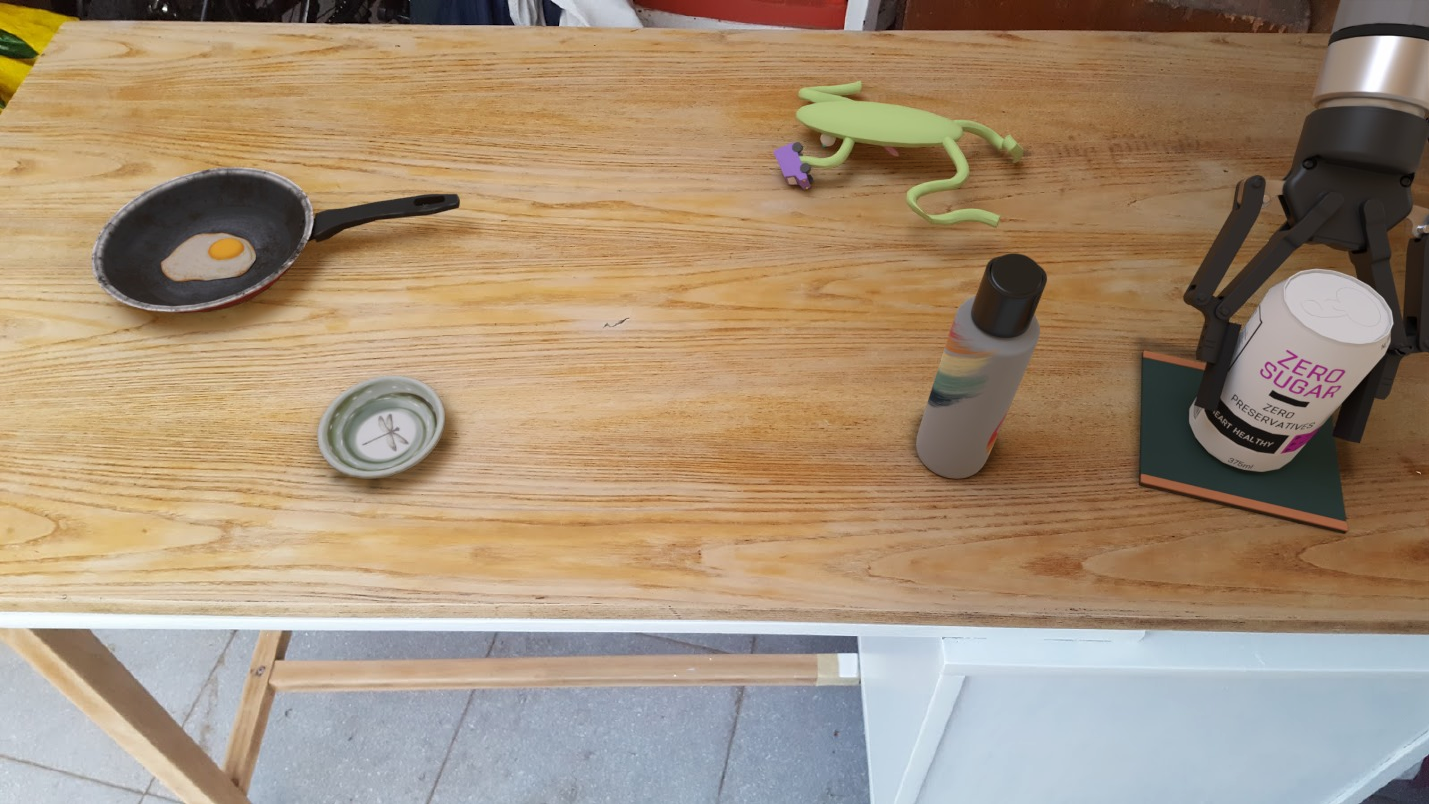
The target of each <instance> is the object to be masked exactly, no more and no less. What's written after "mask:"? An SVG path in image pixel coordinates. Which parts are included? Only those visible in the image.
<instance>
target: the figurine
mask: <svg viewBox="0 0 1429 804" xmlns="http://www.w3.org/2000/svg"><path fill="white" fill-rule="evenodd" d="M861 91H862V80H861V79H860V80H858V81H855V82H850V83H844V84H836V85H817V86H804V87H802V88H800V89H799V91H798V93H797V96H798V98H799V99H800V100H802V101H806V102H811V104H807V105H802V106H801V107H800V108H799V109H798V110H796V111H795V119H796V121H798V122H800V124H802V125H804V126H805V127H807V128H808V129H810V130H813V131H815V132H818V133H821V135H820V138H819V139H820V143H821V146H822V147H823V148H827V147H832V146H833V145H834V144H835V142H836V140H837V139H839V140H842V143H841V146H840V147H839V149H838V151H837V152H835V154H832V155H831V156H828V157H823V158H822V157H815V156H810V155H809V156H808V155H804V153H802V152H803V150H804V146H803V144H802V143H801V142H800V141H795V142H790V143H788V144H786V145H784V146H781V147H779V148H776V149H774V150H773V155H774V156H775V159H776V161H777V163H778V166H779V168H780V170H781V172H782V175H783V177H784V179H785V182H786V183H787V185H788V186H795V185H797V186H800V188H802V190H804V191H806V190H809V189H811V188H812V186H811V185H812V184H813V183H814V177H813V176H812V175H811V174H810V173H811V171H812V168H817V169H818V168H820V169H827V170H828V169H833V168H837V167H839V166H841V165H842V164H843V163H845V161H846V160H847V159H848V158H849V156H850V154H851V153H852V151H853V148H854V145H855V143H859V144H860V143H861V144H866V145H867V144H868V145H872V146H873V145H875V146H879V147H883V148H884V149H885V150H886V151H887V152H888V153H889V154H891V155H893V156H895V157H899V152H898V151H897V150H896V149H894V147H895V148H924V147H925V148H926V147H927V148H929V147H940V146H941V147H942V148H943V149H944V151H945V152H946V154H948V156H949V157H950V159H951V161H952V162H953V165H954V166H955V169H956V173H955V175H954V176H952V177H951V178H948V179H938V180H931V181H927V182H926V181H925V182H922V183H920V184H917V185H915V186H912V187H911V188H910V189H909V190H907V191H906V195H905V203H906V204H907V206H908V207H909V208H910V209H911V210H912V211H913V212H914V213H915V214H917V215H918V216H919V217H921V218H923V219H924V220H926V221H927V222H929V223H930V224H931V225H936V226H954V225H957V224H960V223H968V222H971V223H980V224H983V225H986V226H989V227H992V228H995V229H997V228H998V226H999V223H1000V221H1001V218H1002V217H1001V215H1000V214H996V213H995V212H991V211H988V210H984V209H981V208H963V209H956V210H953V211H950V212H946V213H941V214H937V215H936V214H928V213H926V212H924V210H922V209H921V208H920V207H919V205H918V202H917V201H918V200H919V199H920V198H921V197H924V196H926V195H930V194H935V193H940V192H948V191H952V190H956V189H959V188H961V186H963V185H964V184H965V183H966V182H967V180H968V179H969V177H970V175H971V173H970V172H971V171H970V165H969V163H968V160H967V158H966V156H965V155H964V153H963V151H962V150H961V148H960V147H959V144H958V143H957V142H958V141H959V140H961V139H962V138H963V137H964V136H965V133H968V134H971V135H972V134H973V135H976V136H978V137H980V138H982V139H984V140H985V141H986V142H988V143H989V144H990V145H991V146H992V147H994V148H995V149H997V150H998V151H1007V152H1008V154H1010V155H1011V156H1012V157H1013V160H1012V164H1016V163H1017V162H1019V161H1020V160H1021V159H1022V158H1023V156H1024V150H1025V149H1024V148H1023V147H1022V146H1021V144H1019V143H1018V142H1017V141H1016V139H1014V138H1013V136H1012V135H1011V134H1007V135H1006V136H1005V137H1002V136H1001V135H1000V134H998V133H997V132H996V131H995V130H993V129H992V128H990V127H989V126H987V125H984V124H982V123H979V122H976V121H974V120H968V119H950V118H948V117H945V116H942V115H939V114H937V113H933V112H931V111H928V110H923V109H919V108H914V107H909V106H905V105H902V104H892V103H885V102H878V101H865V100H864V101H863V100H853V99H851V98H848V97H846V96H849V95H850V96H851V95H855V94H857V93H860V92H861Z"/></svg>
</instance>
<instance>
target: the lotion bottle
mask: <svg viewBox="0 0 1429 804" xmlns="http://www.w3.org/2000/svg"><path fill="white" fill-rule="evenodd" d="M1047 282H1048V276H1047V272H1046V271H1045V269H1044V268H1043V267H1042V266H1040V265H1039V264H1038V263H1037V262H1036V261H1035V260H1034V259H1032V258H1031V257H1030V256H1027V255H1025V254H1022V253H1017V252H1016V253H1014V252H1013V253H1005V254H1003V255H1000V256H996V257H993V258H991V259H990V260H989V261H988V262H987V264H986V266H985V269H984V272H983V274H982V278H981V280H980V283H979V285H978V288H977V291H976V294H975V295H974V296H971V297H969V298H967V299H966V300H964V302H962V303H961V304H960V305H959V307H958V308H957V310H956V312H955V315H954V317H953V320H952V324H951V327H950V329H949V333H948V335H947V338H946V343H945V345H944V349H943V352H942V355H941V359H940V361H939V364H938V367H937V371H936V374H935V377H934V380H933V383H932V387H931V390H930V393H929V396H928V399H927V403H926V406H925V408H924V412H923V415H922V418H921V422H920V425H919V428H918V430H917V436H916V441H915V449H916V453H917V456H918V457H919V460H920V462H921V463H922V464H923V465H924V466H925V467H926V468H927V469H928V470H930V471H931V472H932V473H934V474H936V475H939V476H940V477H943V478H948V479H953V480H954V479H956V480H957V479H965V478H969V477H972V476H974V475H975V474H977V473H978V472H980V470H982V469H983V467H984V466H985V464H986V462H987V460H988V458H989V456H990V454H991V453H992V452H991V451H992V450H993V447H994V445H995V443H996V440H997V438H998V436H999V433H1000V431H1001V429H1002V427H1003V424H1004V422H1005V420H1006V417H1007V415H1008V413H1009V411H1010V408H1011V406H1012V403H1013V401H1014V398H1015V396H1016V394H1017V392H1018V390H1019V387H1020V385H1021V382H1022V380H1023V379H1024V376H1025V373H1026V371H1027V368H1028V366H1029V364H1030V361H1031V359H1032V357H1033V355H1034V352H1035V350H1036V347H1037V345H1038V342H1039V341H1040V340H1039V339H1040V336H1041V326H1040V322H1039V320H1038V318H1037V316H1036V314H1035V313H1036V311H1037V308H1038V306H1039V303H1040V301H1041V298H1042V296H1043V293H1044V290H1045V289H1046V285H1047Z"/></svg>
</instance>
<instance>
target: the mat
mask: <svg viewBox="0 0 1429 804" xmlns="http://www.w3.org/2000/svg"><path fill="white" fill-rule="evenodd" d="M1206 363H1207V362H1202V361H1197V360H1192V359H1187V358H1182V357H1178V356H1172V355H1168V354H1163V353H1159V352H1154V351H1149V350H1143V351H1142V352H1141V370H1140V371H1141V373H1140V375H1141V378H1140V385H1141V386H1140V420H1139V421H1140V422H1139V423H1140V424H1139V426H1140V427H1139V467H1138V468H1139V470H1138V471H1139V472H1138V473H1139V474H1138V485H1139V486H1142V487H1146V488H1150V489H1154V490H1159V491H1164V492H1168V493H1172V494H1176V495H1180V496H1185V497H1187V498H1188V497H1189V498H1192V499H1196V500H1200V501H1204V502H1210V503H1214V504H1219V505H1222V506H1227V507H1230V508H1234V509H1240V510H1243V511H1248V512H1252V513H1255V514H1259V515H1260V514H1261V515H1265V516H1268V517H1274V518H1278V519H1282V520H1286V521H1290V522H1294V523H1298V524H1303V525H1306V526H1311V527H1314V528H1315V527H1316V528H1320V529H1324V530H1328V531H1332V532H1337V533H1340V534H1346V533H1347V532H1348V531H1349V528H1348V521H1347V517H1346V511H1345V502H1344V495H1343V487H1342V481H1341V473H1340V464H1339V457H1338V449H1337V442H1336V437H1334V436H1332V434H1333V431H1334V428H1335V426H1334V420H1333V414H1332V415H1331V416H1330V417H1329V418H1328V419H1327V420H1326V422H1325V423H1324V424H1323V425H1322V426H1321V427H1320V428H1319V430H1318V431H1317V432H1316V433H1315V434H1314V435H1313V436H1312V437H1311V439H1310V440H1309V441H1308V442H1307V443H1306V444H1305V445H1304V447H1303V448H1302V449H1301V450H1300V451H1299V452H1298V453H1297V454H1296V456H1295V457H1294V458H1293V459H1292V460H1291V461H1290V462H1288V463H1287V464H1285V465H1284V466H1282V467H1281V468H1279V469H1275V470H1270V471H1264V472H1259V471H1251V470H1243V469H1239V468H1236V467H1234V466H1231V465H1229V464H1226V463H1223V462H1222V461H1220V460H1219V459H1217V458H1216V457H1214V456H1213V455H1211V454H1210V453H1209V452H1208V451H1207V450H1206V449H1205V448H1204V447H1203V446H1202V444H1201V443H1200V442H1199V441H1198V439H1197V438H1196V437H1195V435H1194V433H1193V430H1192V428H1191V426H1190V423H1189V409H1190V407H1191V405H1192V404H1193V402H1194V400H1195V399H1196V397H1197V394H1198V391H1199V387H1200V384H1201V380H1202V377H1203V374H1204V370H1205V367H1206Z"/></svg>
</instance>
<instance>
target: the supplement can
mask: <svg viewBox="0 0 1429 804" xmlns="http://www.w3.org/2000/svg"><path fill="white" fill-rule="evenodd" d="M1392 326H1393V317H1392V311H1391V309H1390V308H1389V306H1388V305H1387V303H1386V301H1385V300H1384V298H1383V297H1382V296H1380V295H1379V294H1378V293H1377V292H1376V291H1375V290H1374V289H1373V288H1371V287H1370V286H1369V285H1367V284H1365V283H1363V282H1361V281H1360V280H1358V279H1357V277H1354V276H1352V275H1349V274H1346V273H1343V272H1340V271H1337V270H1331V269H1323V268H1322V269H1321V268H1313V269H1312V268H1311V269H1306V270H1305V269H1304V270H1299V271H1298V272H1296V273H1295V274H1293V275H1291V276H1289V277H1288V278H1287V279H1284V280H1282V281H1280V282H1279V283H1276V284H1275V285H1273V286H1272V287H1270V288H1269V290H1268V291H1267V292H1266V294H1265V295H1264V296H1263V298H1262V299H1261V301H1260V302H1259V304H1258V305H1257V307H1256V308H1255V310H1254V312H1253V313H1252V314H1251V316H1250V318H1248V320H1247V322H1246V324H1245V325H1244V326H1243V327H1242V328H1241V330H1240V333H1239V336H1238V340H1237V343H1236V346H1235V350H1234V353H1233V357H1232V360H1231V363H1230V367H1229V370H1228V374H1227V377H1226V380H1225V384H1224V387H1223V390H1222V394H1221V397H1220V401H1219V404H1218V407H1217V411H1216V412H1215V411H1211V410H1206V409H1203V408H1200V407H1198V406H1195V405H1194V404H1195V401H1196V399H1195V400H1194V402H1193V404H1192V405H1191V407H1190V409H1189V423H1190V426H1191V428H1192V430H1193V433H1194V435H1195V437H1196V438H1197V439H1198V441H1199V442H1200V443H1201V444H1202V446H1203V447H1204V448H1205V449H1206V450H1207V451H1208V452H1209V453H1210V454H1211V455H1213V456H1214V457H1216V458H1217V459H1219V460H1220V461H1222V462H1223V463H1226V464H1229V465H1231V466H1234V467H1236V468H1239V469H1243V470H1251V471H1259V472H1264V471H1270V470H1275V469H1279V468H1281V467H1282V466H1284V465H1285V464H1287V463H1288V462H1290V461H1291V460H1292V459H1293V458H1294V457H1295V456H1296V454H1297V453H1298V452H1299V451H1300V450H1301V449H1302V448H1303V447H1304V445H1305V444H1306V443H1307V442H1308V441H1309V440H1310V439H1311V437H1312V436H1313V435H1314V434H1315V433H1316V432H1317V431H1318V430H1319V428H1320V427H1321V426H1322V425H1323V424H1324V423H1325V422H1326V420H1327V419H1328V418H1329V417H1330V416H1331V415H1332V416H1333V414H1334V413H1335V411H1336V410H1337V409H1338V408H1339V407H1341V405H1342V402H1343V401H1344V400H1345V399H1346V398H1347V397H1348V396H1349V394H1350V393H1351V392H1352V391H1353V390H1354V389H1355V388H1356V387H1357V385H1358V384H1359V383H1360V382H1361V381H1362V380H1363V379H1364V377H1365V376H1366V375H1367V374H1368V373H1369V372H1370V371H1371V370H1372V368H1373V367H1374V366H1375V365H1376V364H1377V363H1378V362H1379V360H1380V359H1381V358H1382V357H1383V356H1384V355H1385V353H1386V351H1387V348H1388V346H1389V344H1390V340H1391V328H1392ZM1196 398H1197V397H1196Z"/></svg>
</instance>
